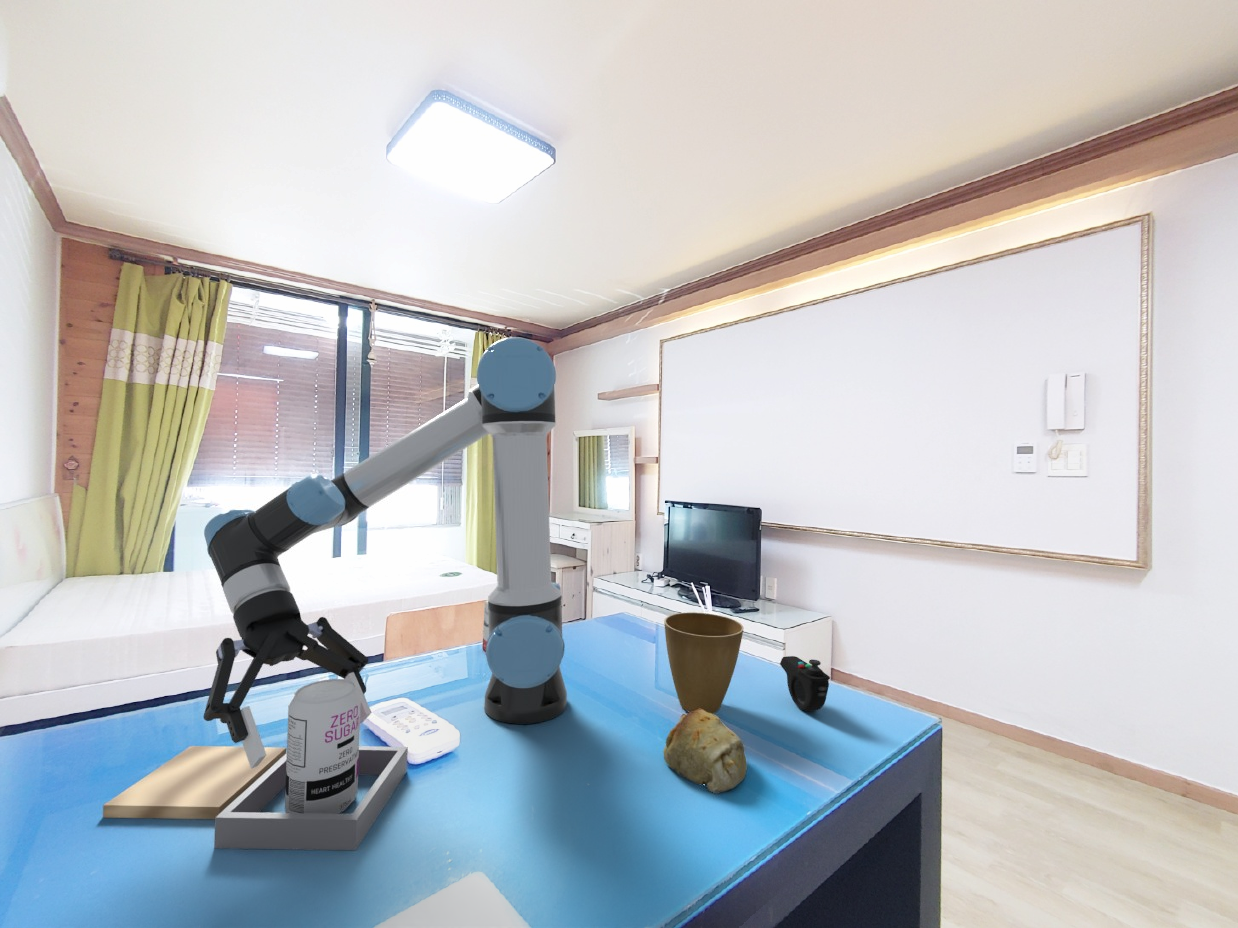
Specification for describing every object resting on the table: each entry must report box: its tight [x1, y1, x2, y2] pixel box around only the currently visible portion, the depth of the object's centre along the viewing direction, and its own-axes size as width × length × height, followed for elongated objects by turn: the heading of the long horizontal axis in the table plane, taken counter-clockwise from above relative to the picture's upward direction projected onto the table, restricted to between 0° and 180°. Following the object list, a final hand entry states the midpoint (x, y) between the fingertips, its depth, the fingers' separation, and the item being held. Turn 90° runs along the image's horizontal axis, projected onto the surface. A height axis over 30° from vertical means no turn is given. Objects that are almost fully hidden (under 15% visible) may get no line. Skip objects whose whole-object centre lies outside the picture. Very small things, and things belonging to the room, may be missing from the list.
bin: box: [213, 745, 409, 851], centre depth 70 cm, size 16×16×4 cm
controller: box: [779, 655, 831, 712], centre depth 104 cm, size 4×12×10 cm, turn 13°
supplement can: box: [284, 678, 361, 814], centre depth 70 cm, size 8×8×15 cm
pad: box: [102, 745, 287, 820], centre depth 73 cm, size 14×14×2 cm
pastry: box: [662, 708, 748, 794], centre depth 82 cm, size 14×12×8 cm
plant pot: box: [663, 611, 744, 715], centre depth 102 cm, size 15×15×16 cm
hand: (316, 738), depth 70 cm, fingers open, 13 cm apart
